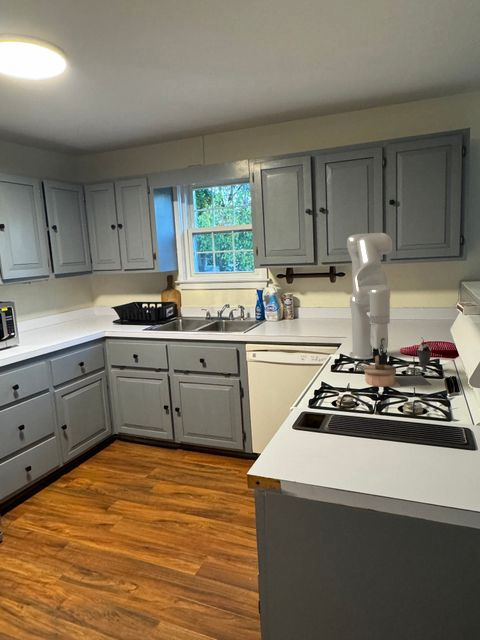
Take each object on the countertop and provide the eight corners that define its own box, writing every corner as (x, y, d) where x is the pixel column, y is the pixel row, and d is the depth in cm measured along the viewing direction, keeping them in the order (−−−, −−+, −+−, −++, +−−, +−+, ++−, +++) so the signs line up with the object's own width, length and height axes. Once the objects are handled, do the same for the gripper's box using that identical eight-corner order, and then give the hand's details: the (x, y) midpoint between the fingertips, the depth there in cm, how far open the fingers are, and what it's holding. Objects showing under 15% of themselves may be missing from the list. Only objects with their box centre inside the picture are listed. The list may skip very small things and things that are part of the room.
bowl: (363, 379, 186) (362, 368, 185) (390, 378, 185) (390, 366, 184) (369, 388, 175) (368, 376, 174) (398, 387, 174) (398, 375, 173)
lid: (361, 367, 186) (360, 353, 185) (391, 366, 185) (391, 352, 184) (367, 376, 174) (367, 361, 172) (400, 375, 173) (400, 360, 172)
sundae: (419, 369, 195) (420, 335, 192) (435, 371, 190) (435, 337, 187) (413, 372, 190) (413, 338, 188) (428, 375, 186) (429, 340, 183)
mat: (392, 378, 185) (392, 376, 185) (421, 376, 185) (421, 375, 184) (400, 387, 174) (400, 386, 174) (432, 386, 173) (432, 385, 173)
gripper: (365, 315, 184) (365, 355, 187) (375, 324, 167) (375, 367, 170) (383, 314, 183) (383, 354, 187) (395, 323, 166) (395, 366, 170)
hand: (379, 360), depth 178 cm, fingers open, 9 cm apart
